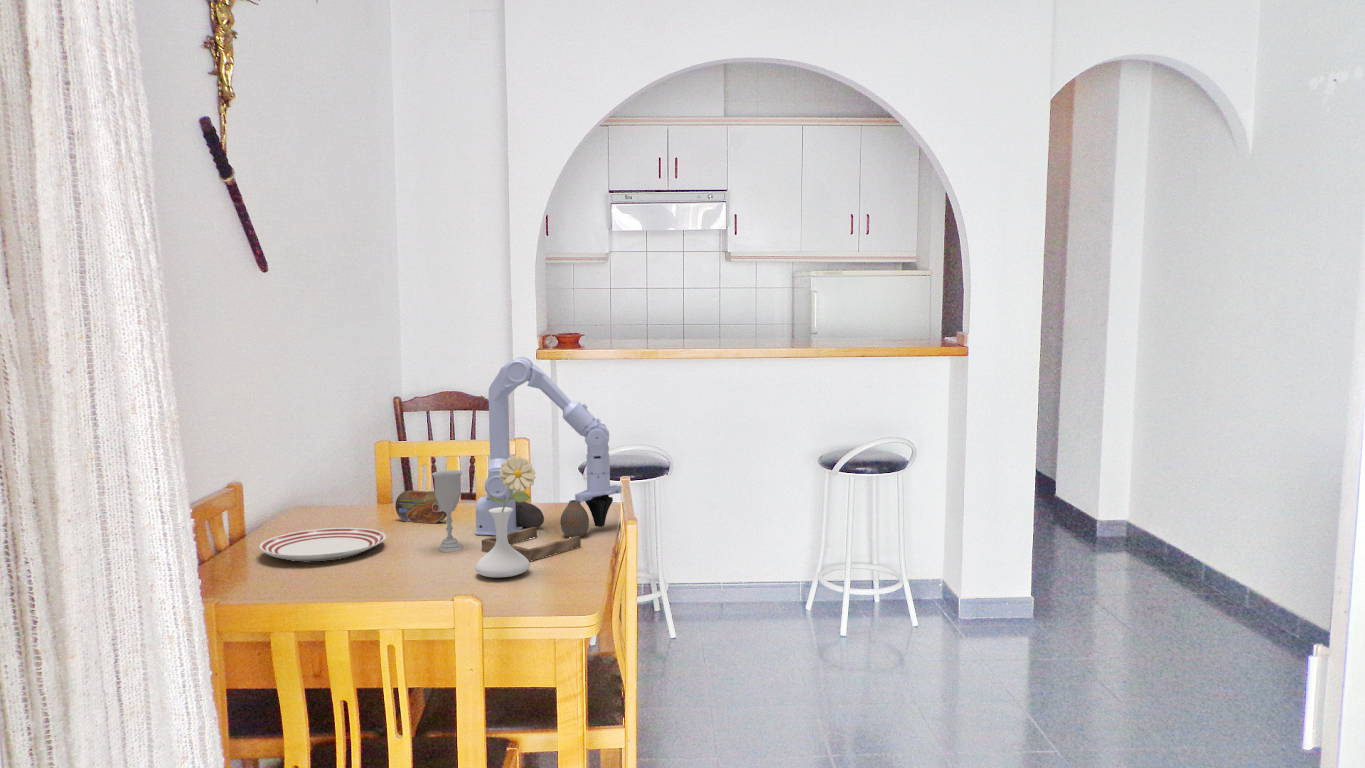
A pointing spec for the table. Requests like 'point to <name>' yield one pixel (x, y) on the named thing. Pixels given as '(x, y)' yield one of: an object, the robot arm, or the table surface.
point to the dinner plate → (322, 544)
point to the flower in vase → (502, 555)
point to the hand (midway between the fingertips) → (599, 525)
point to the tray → (537, 551)
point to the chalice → (448, 502)
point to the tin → (419, 507)
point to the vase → (574, 520)
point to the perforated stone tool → (528, 515)
